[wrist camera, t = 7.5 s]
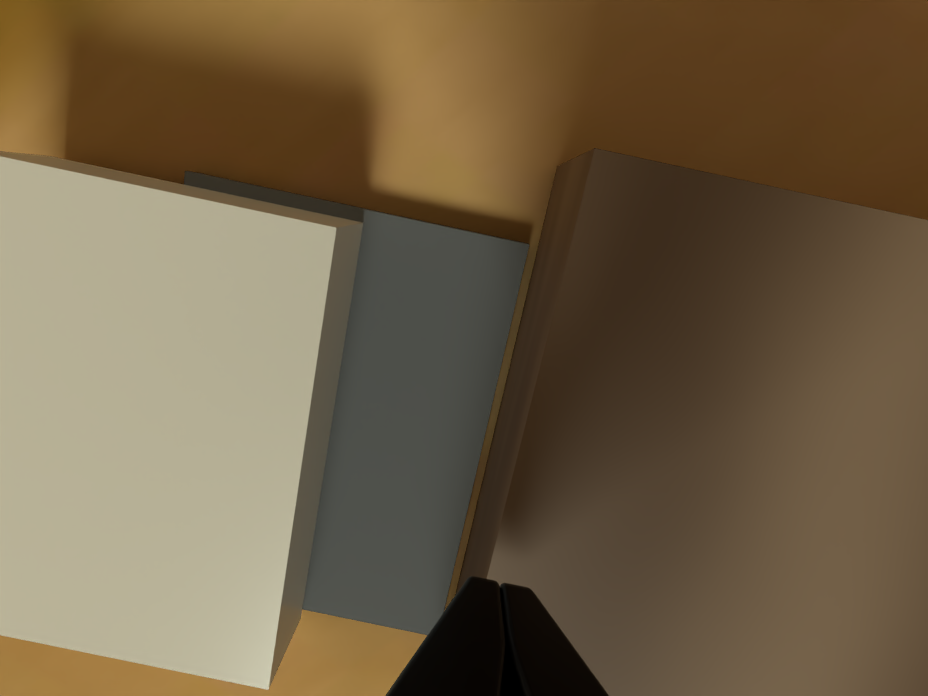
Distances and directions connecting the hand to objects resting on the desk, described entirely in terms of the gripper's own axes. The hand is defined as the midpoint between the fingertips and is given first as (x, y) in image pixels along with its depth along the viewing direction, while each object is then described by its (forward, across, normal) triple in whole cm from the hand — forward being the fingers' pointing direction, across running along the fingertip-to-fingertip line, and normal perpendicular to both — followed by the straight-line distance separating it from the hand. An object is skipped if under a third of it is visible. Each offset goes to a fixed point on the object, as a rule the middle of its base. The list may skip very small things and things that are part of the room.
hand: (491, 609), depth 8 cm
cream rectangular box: (+2, +6, 0) cm, 7 cm away
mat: (+5, +4, 0) cm, 6 cm away
